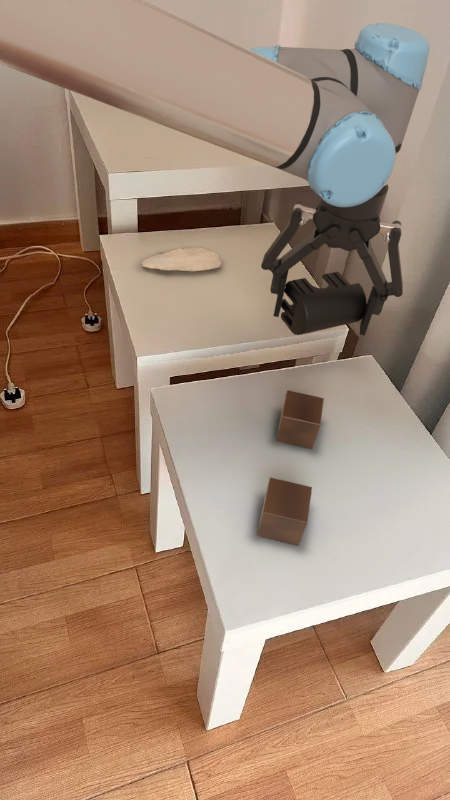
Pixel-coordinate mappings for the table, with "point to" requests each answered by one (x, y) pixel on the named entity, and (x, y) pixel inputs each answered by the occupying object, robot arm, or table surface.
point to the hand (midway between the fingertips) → (319, 320)
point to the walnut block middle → (300, 419)
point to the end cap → (322, 304)
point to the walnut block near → (285, 511)
